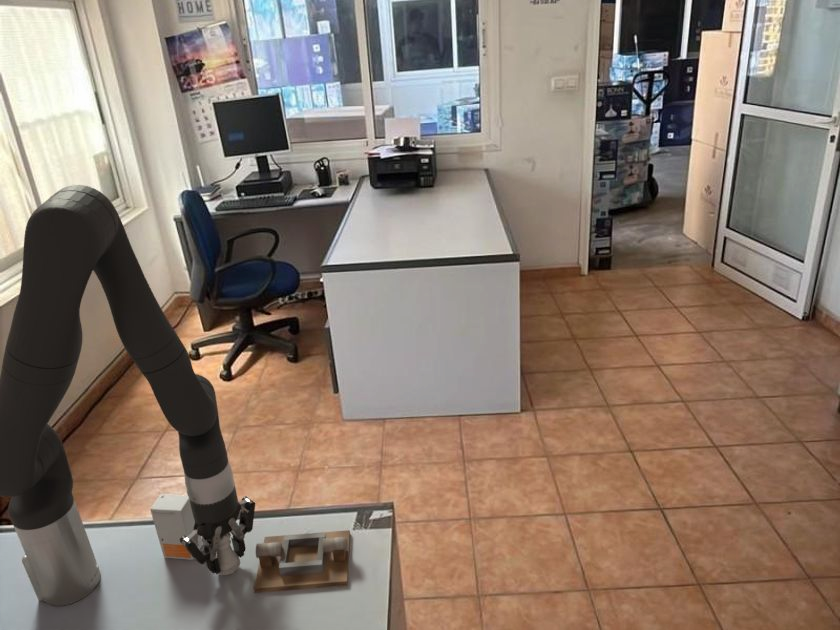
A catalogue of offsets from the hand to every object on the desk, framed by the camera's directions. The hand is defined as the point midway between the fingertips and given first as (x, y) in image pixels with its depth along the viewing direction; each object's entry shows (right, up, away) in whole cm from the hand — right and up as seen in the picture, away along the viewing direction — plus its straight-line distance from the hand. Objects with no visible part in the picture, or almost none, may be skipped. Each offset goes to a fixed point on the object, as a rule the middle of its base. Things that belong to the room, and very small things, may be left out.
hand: (227, 562), depth 114 cm
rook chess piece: (0, -1, +1) cm, 2 cm away
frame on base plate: (+13, -1, +2) cm, 13 cm away
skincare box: (-10, 0, +6) cm, 12 cm away
